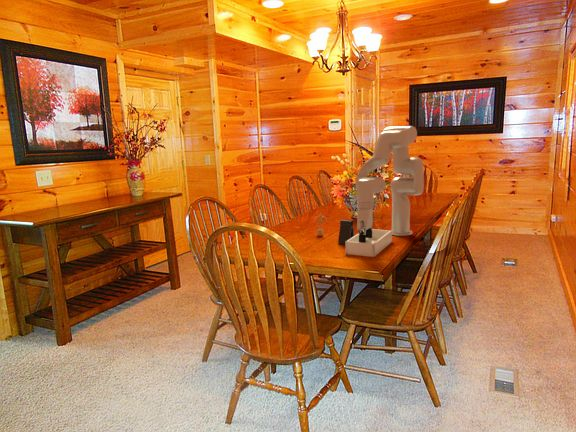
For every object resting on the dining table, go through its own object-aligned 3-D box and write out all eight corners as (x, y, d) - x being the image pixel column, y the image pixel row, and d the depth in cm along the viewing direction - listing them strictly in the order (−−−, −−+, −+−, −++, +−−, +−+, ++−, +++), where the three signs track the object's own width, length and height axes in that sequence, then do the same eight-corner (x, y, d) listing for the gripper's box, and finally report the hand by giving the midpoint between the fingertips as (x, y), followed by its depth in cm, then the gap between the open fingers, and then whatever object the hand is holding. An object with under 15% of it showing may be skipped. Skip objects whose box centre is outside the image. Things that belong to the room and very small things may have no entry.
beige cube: (361, 247, 210) (361, 237, 209) (371, 248, 208) (371, 238, 207) (358, 249, 206) (358, 239, 205) (368, 250, 203) (368, 240, 202)
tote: (365, 239, 229) (365, 228, 228) (391, 241, 222) (391, 230, 221) (345, 253, 203) (345, 241, 202) (374, 257, 197) (374, 244, 195)
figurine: (312, 236, 240) (311, 215, 237) (314, 234, 245) (313, 213, 243) (326, 236, 238) (326, 215, 236) (328, 234, 243) (328, 213, 241)
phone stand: (344, 240, 229) (344, 218, 227) (355, 241, 226) (355, 219, 224) (337, 244, 222) (337, 221, 219) (348, 245, 218) (348, 222, 216)
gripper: (363, 201, 212) (364, 235, 215) (351, 208, 197) (352, 244, 201) (378, 202, 208) (378, 236, 212) (367, 209, 194) (367, 245, 197)
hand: (365, 240), depth 206 cm, fingers open, 9 cm apart
